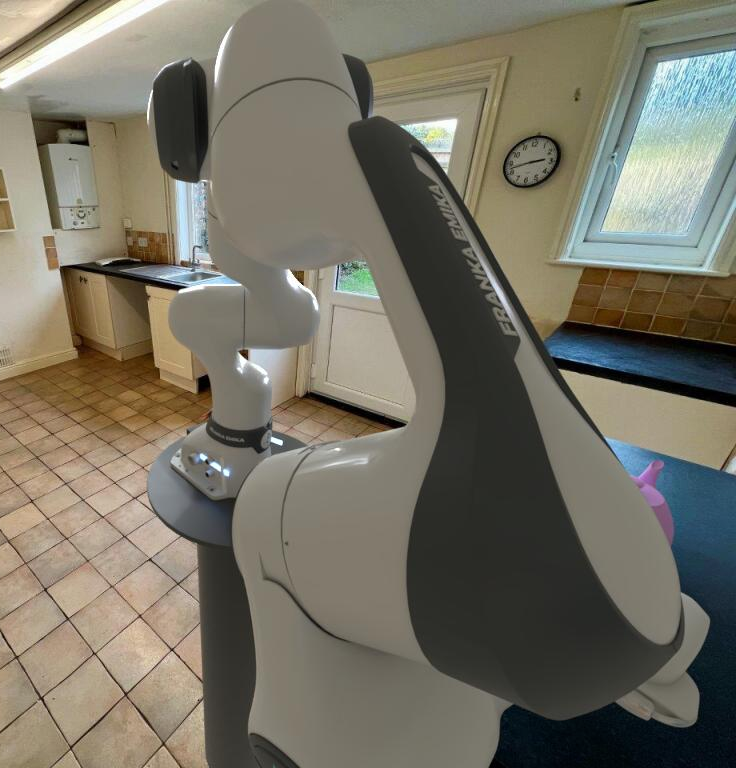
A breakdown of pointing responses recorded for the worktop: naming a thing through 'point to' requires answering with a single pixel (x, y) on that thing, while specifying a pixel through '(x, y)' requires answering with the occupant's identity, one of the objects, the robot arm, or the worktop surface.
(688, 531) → the worktop surface
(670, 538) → the teapot
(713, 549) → the worktop surface
